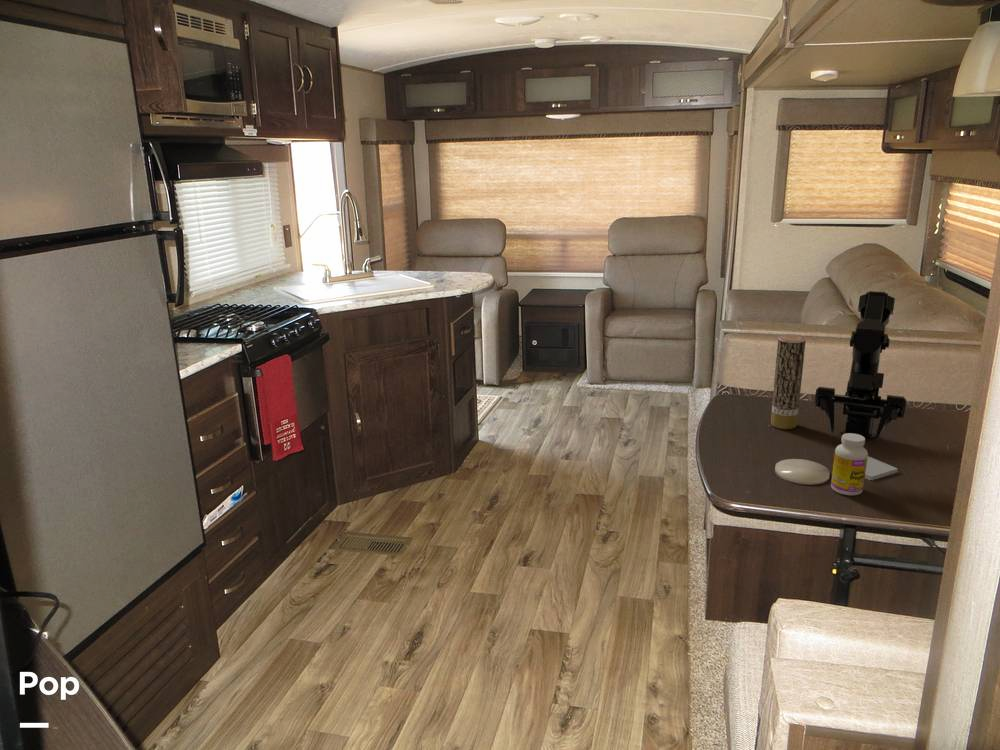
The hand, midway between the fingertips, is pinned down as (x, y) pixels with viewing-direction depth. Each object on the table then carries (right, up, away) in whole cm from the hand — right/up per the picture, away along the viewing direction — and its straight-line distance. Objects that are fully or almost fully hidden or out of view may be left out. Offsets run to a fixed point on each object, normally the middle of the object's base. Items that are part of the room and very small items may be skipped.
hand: (854, 435), depth 171 cm
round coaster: (-9, -10, +8) cm, 15 cm away
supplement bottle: (-2, -12, -1) cm, 13 cm away
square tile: (+7, -9, +9) cm, 15 cm away
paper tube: (-2, 0, +37) cm, 37 cm away
